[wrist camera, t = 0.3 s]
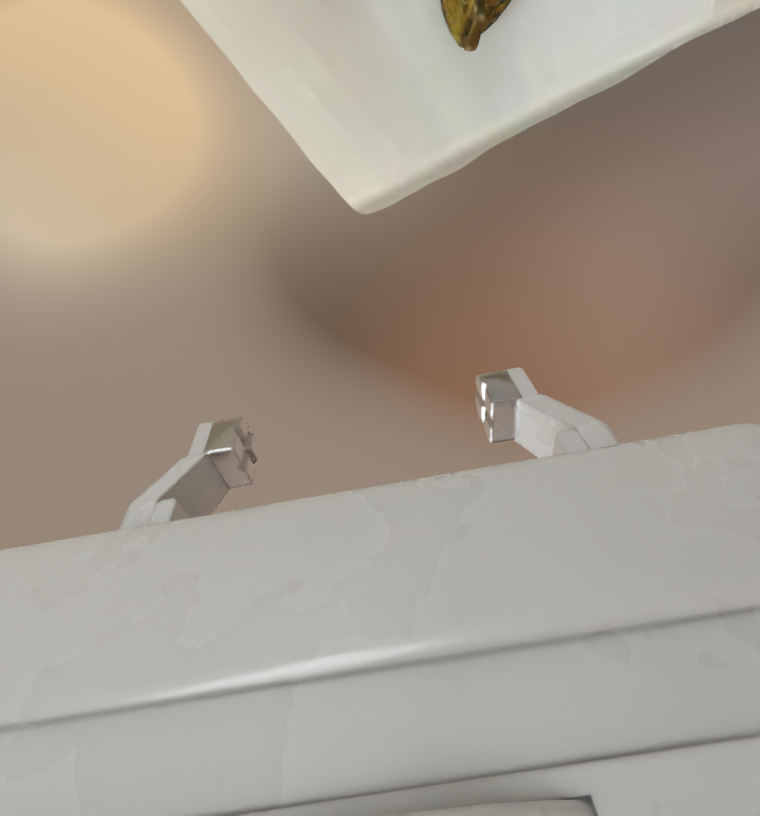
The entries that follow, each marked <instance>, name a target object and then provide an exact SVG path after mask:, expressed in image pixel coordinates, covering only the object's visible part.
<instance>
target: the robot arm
mask: <svg viewBox="0 0 760 816" xmlns="http://www.w3.org/2000/svg"><path fill="white" fill-rule="evenodd" d="M476 387H477V389H478V393H477V394H476V406H477V412H478V415H479V418H480V420H481V421H482V422H484V430H485V432H486V435H487V437H488V439H489V442H490V443H495V442H502V441H508V440H515V441H516V442H518V443H519V444H520V445H521V446H523V447H524V448H526V449H527V450H528V451H530V452H531V453H533V454H534V455H535V456H537V457H538V458H537V459H531V460H526V461H520V462H514V463H508V464H503V465H497V466H491V467H485V468H479V469H473V470H468V471H463V472H456V473H450V474H444V475H438V476H433V477H427V478H421V479H415V480H409V481H403V482H397V483H392V484H386V485H380V486H374V487H369V488H363V489H357V490H351V491H345V492H339V493H333V494H328V495H322V496H316V497H310V498H304V499H298V500H293V501H287V502H281V503H276V504H269V505H263V506H257V507H252V508H246V509H240V510H234V511H228V512H222V513H217V514H212V512H213V511H214V510H215V508H216V507H217V506H218V504H219V503H220V502H221V501H222V499H223V498H224V496H225V495H226V494H227V493H228V491H229V489H231V488H236V487H241V486H246V485H251V484H253V481H254V476H255V470H256V469H255V467H254V465H253V464H254V463H255V462H256V461H257V459H258V445H257V441H256V438H255V436H254V434H252V433H250V432H249V431H248V428H249V424H248V422H247V421H246V419H245V418H243V417H239V418H233V419H227V420H220V421H215V422H208V423H202V424H200V425H199V426H198V429H197V432H196V434H195V437H194V440H193V443H192V446H191V448H190V451H189V454H188V456H187V457H184V458H182V459H181V460H180V461H179V462H178V463H177V464H175V465H174V466H173V467H172V468H171V469H170V470H169V471H168V472H166V473H165V474H164V475H163V476H162V477H161V478H160V479H159V480H158V481H156V482H155V483H154V484H153V485H152V486H151V487H150V488H148V489H147V490H146V491H145V492H144V493H143V494H142V495H141V496H139V497H138V498H137V499H136V500H135V501H134V502H133V503H131V504H130V507H129V508H128V511H127V513H126V515H125V517H124V519H123V522H122V524H121V526H120V528H119V530H117V531H112V532H105V533H100V534H94V535H88V536H82V537H76V538H70V539H64V540H59V541H53V542H47V543H41V544H36V545H29V546H22V547H16V548H10V549H4V550H0V816H760V425H757V424H747V423H746V424H736V425H729V426H723V427H718V428H712V429H706V430H700V431H694V432H689V433H683V434H677V435H671V436H666V437H660V438H654V439H648V440H642V441H637V442H631V443H625V444H621V443H620V442H619V441H618V440H617V438H616V437H615V435H614V434H613V433H612V431H611V430H610V429H609V428H608V426H607V425H606V424H605V423H604V422H602V421H600V420H598V419H596V418H593V417H591V416H589V415H587V414H585V413H582V412H580V411H578V410H576V409H574V408H571V407H569V406H567V405H565V404H563V403H561V402H559V401H556V400H554V399H552V398H549V397H548V396H545V395H539V394H538V393H537V391H536V390H535V388H534V387H533V385H532V383H531V382H530V380H529V379H528V377H527V375H526V374H525V372H524V371H523V369H522V368H520V367H518V368H513V369H508V370H505V371H500V372H494V373H489V374H483V375H478V376H476Z"/></svg>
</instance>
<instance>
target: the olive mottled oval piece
mask: <svg viewBox="0 0 760 816" xmlns="http://www.w3.org/2000/svg"><path fill="white" fill-rule="evenodd" d="M510 2H511V0H441V6H442V11H443V15H444V18H445V21H446V24H447V26H448V28H449V30H450V32H451V34H452V36H453V37H454V39H455V41H456V42H457V44H458V45H459V46H460V47H462V48H464V50H466V51H474V50H476V48H477V46H478V43H479V39H480V35H481V34H482V33H483V32H484V31H486V30H487V29H488V28H489V27H490V26H491V25H492V24H493V23H494V22H495V21H496V20H497V19H498V18H499V16H500V15H501V14H502V12H503V11H504V10H505V9H506V7H507V6H508V4H509V3H510Z"/></svg>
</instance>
